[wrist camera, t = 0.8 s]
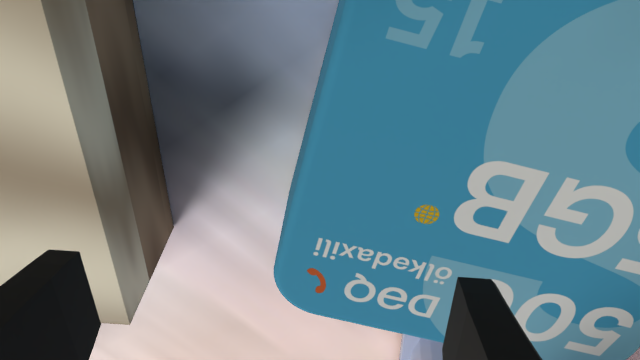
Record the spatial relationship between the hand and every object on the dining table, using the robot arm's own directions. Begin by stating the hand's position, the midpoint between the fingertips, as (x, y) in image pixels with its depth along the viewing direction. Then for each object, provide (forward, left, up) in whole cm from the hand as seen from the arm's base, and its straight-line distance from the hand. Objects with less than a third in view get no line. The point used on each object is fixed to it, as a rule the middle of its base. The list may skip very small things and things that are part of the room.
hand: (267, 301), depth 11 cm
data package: (+5, -7, -7) cm, 11 cm away
